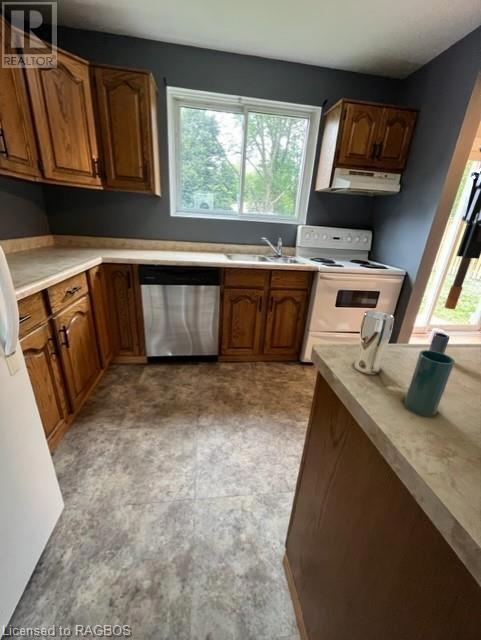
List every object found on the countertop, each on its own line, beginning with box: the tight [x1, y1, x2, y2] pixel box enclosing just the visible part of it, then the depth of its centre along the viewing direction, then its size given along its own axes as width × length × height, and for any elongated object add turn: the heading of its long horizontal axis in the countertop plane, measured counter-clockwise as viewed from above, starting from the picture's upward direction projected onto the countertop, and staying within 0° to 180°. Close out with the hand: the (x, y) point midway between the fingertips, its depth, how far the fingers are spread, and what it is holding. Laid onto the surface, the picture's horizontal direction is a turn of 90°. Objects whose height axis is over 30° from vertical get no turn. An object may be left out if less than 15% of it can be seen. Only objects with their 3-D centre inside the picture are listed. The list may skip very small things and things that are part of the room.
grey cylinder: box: [428, 332, 451, 354], centre depth 78 cm, size 4×4×7 cm
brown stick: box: [443, 213, 480, 310], centre depth 58 cm, size 2×2×20 cm
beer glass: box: [354, 310, 395, 375], centre depth 69 cm, size 7×7×15 cm
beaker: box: [404, 349, 456, 417], centre depth 55 cm, size 6×6×12 cm
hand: (467, 257), depth 57 cm, fingers closed on brown stick, 2 cm apart
